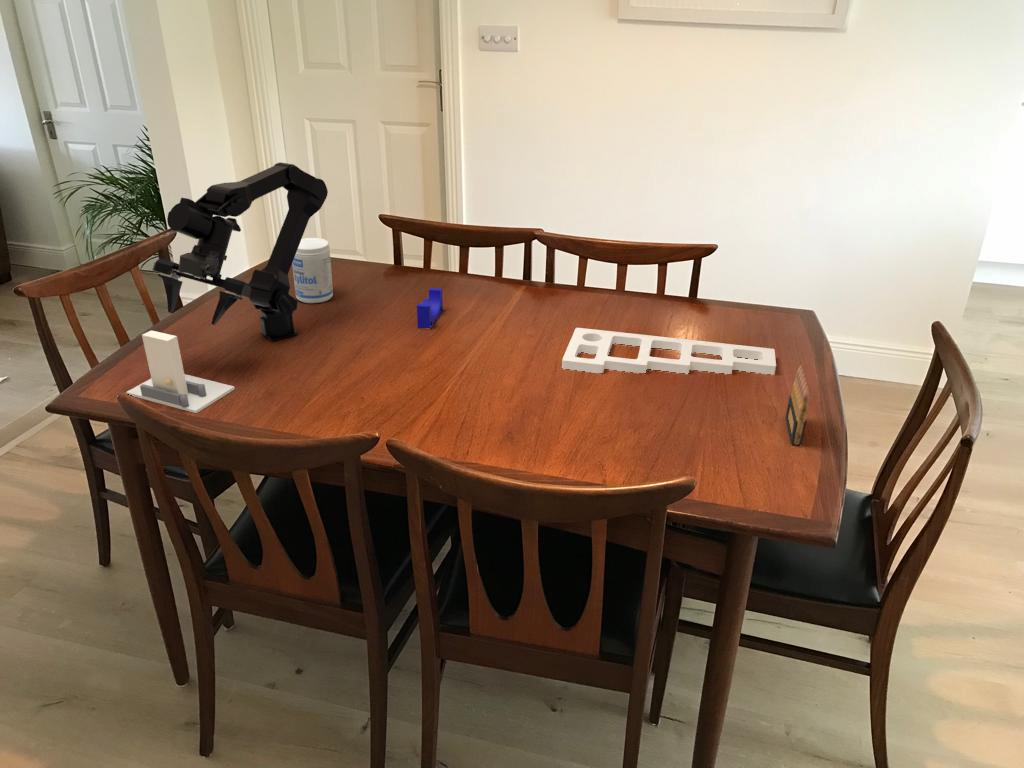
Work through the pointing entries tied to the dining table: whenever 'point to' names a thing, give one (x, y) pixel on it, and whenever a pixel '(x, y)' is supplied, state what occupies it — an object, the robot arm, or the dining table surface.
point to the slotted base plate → (197, 399)
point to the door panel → (165, 362)
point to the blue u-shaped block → (430, 308)
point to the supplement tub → (312, 271)
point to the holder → (603, 340)
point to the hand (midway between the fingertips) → (191, 318)
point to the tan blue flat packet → (797, 408)
